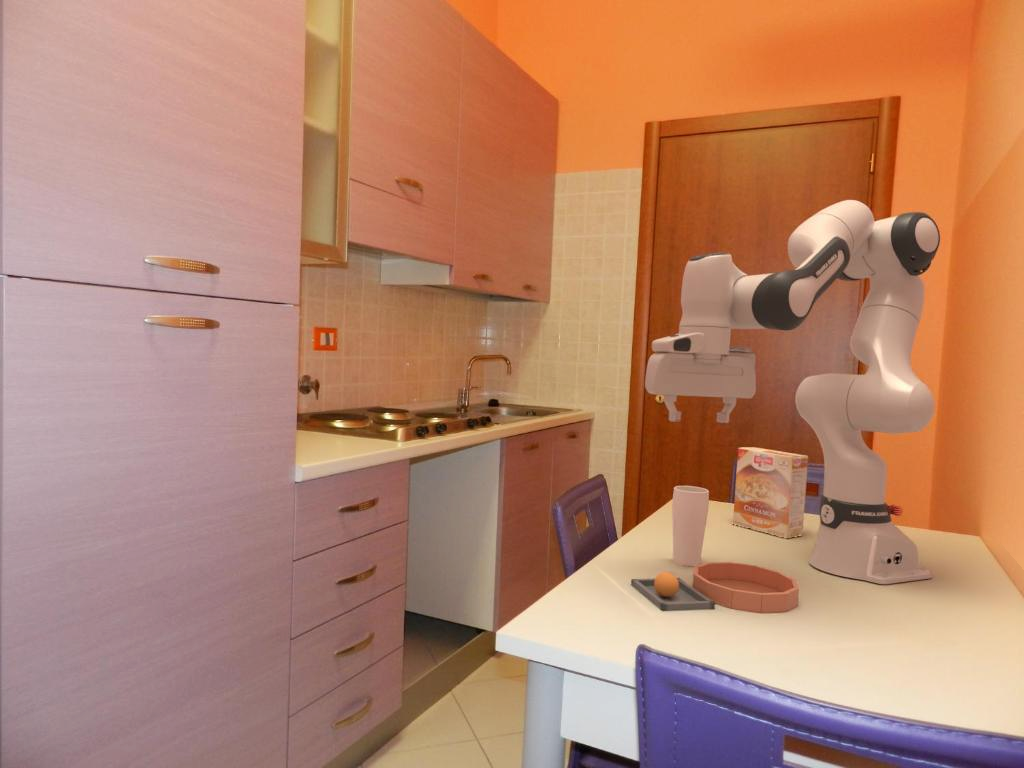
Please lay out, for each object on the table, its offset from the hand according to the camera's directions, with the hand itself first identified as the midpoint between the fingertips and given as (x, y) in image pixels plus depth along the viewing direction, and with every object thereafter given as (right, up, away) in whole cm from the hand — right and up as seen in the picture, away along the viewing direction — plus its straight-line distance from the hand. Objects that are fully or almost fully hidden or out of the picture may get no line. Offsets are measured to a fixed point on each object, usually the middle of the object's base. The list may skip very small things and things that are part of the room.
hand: (698, 422), depth 121 cm
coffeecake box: (+29, -29, +45) cm, 61 cm away
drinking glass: (+1, -29, +12) cm, 31 cm away
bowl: (+6, -30, -5) cm, 31 cm away
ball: (-7, -28, -9) cm, 30 cm away
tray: (-7, -29, -8) cm, 31 cm away
